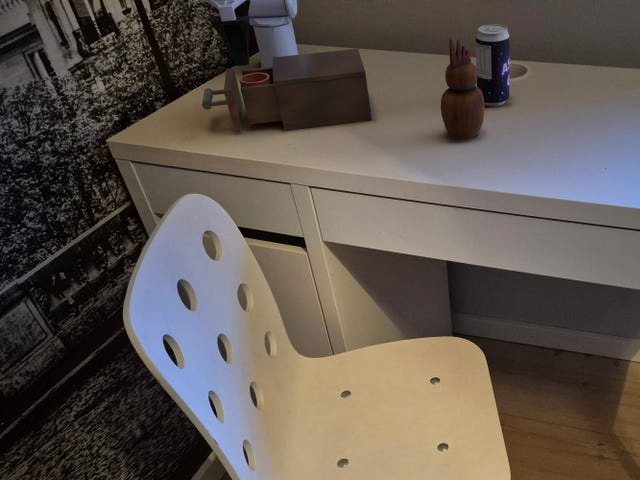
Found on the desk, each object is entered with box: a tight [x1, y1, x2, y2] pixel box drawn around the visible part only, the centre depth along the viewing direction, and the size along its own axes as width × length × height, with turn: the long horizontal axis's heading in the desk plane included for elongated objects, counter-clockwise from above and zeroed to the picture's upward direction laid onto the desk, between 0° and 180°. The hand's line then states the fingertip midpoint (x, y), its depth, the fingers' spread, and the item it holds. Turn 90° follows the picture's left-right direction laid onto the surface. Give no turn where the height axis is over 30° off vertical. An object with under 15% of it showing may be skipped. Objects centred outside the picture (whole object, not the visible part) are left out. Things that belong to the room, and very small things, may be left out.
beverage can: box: [475, 23, 511, 107], centre depth 114 cm, size 6×6×12 cm
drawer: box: [201, 67, 282, 130], centre depth 112 cm, size 18×10×6 cm, turn 104°
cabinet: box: [272, 48, 373, 131], centre depth 113 cm, size 15×12×8 cm
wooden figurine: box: [440, 38, 485, 140], centre depth 103 cm, size 7×6×15 cm
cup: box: [238, 73, 272, 88], centre depth 111 cm, size 5×5×5 cm
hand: (242, 57), depth 107 cm, fingers open, 7 cm apart
